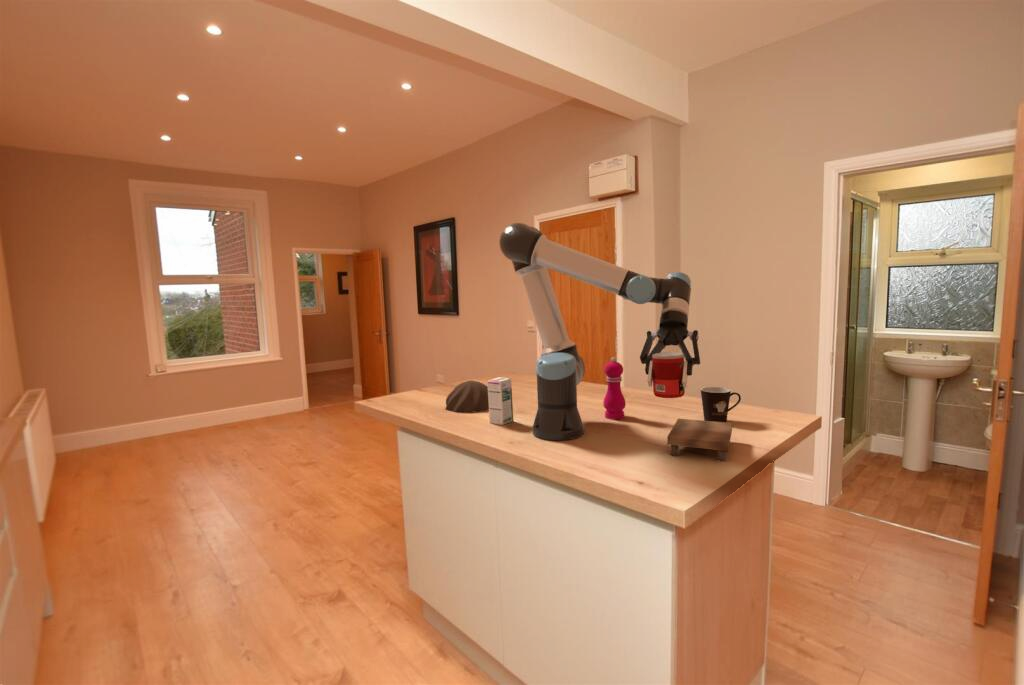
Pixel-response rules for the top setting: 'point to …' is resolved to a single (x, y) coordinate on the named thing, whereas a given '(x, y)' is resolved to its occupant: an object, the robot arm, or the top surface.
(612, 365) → the pepper mill
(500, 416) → the syrup box
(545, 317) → the robot arm
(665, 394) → the canned food
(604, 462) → the top surface
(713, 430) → the walnut shelf
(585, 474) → the top surface
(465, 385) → the decorative dome
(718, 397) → the coffee mug
